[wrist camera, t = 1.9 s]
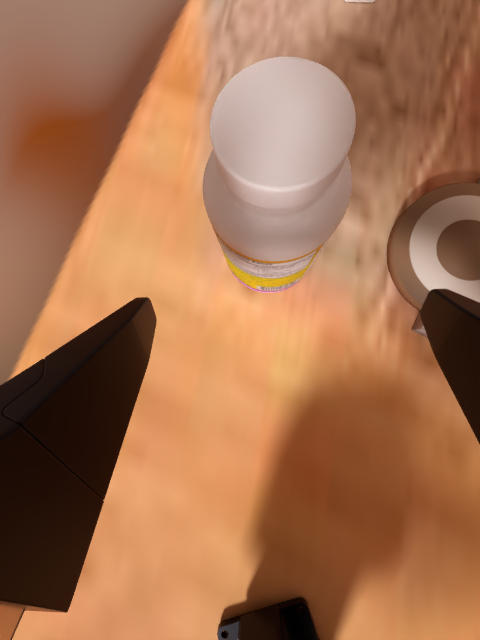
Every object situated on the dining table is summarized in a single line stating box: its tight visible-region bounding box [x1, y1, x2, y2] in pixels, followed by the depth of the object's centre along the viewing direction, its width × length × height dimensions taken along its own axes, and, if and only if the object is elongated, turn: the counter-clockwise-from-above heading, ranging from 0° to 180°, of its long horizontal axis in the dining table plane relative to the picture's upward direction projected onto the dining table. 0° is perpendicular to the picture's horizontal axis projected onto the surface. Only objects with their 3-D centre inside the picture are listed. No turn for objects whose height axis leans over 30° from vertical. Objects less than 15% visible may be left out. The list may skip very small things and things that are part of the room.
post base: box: [387, 180, 480, 337], centre depth 20 cm, size 13×10×1 cm
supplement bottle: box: [203, 56, 356, 293], centre depth 15 cm, size 7×7×13 cm
